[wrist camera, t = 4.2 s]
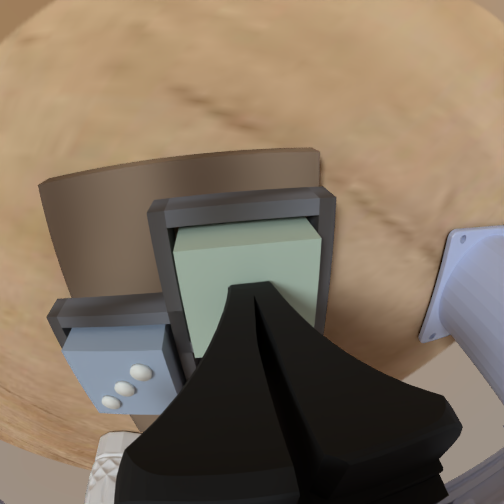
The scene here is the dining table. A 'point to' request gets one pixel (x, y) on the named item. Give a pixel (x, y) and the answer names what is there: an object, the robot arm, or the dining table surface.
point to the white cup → (107, 467)
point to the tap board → (168, 232)
